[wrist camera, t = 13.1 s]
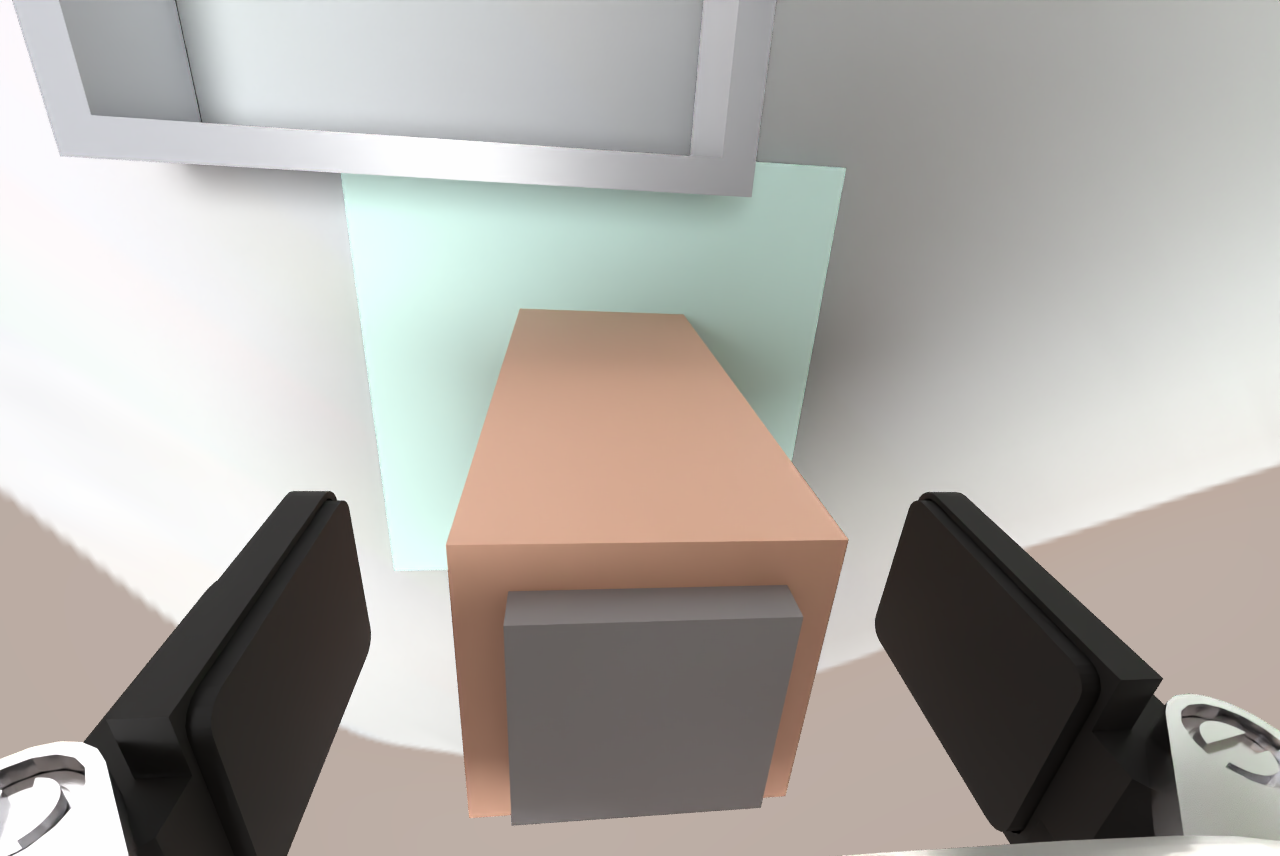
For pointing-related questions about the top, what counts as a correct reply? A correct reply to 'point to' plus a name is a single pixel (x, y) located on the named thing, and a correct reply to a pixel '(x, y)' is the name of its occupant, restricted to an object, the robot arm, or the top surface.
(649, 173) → the case
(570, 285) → the mat
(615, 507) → the block
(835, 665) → the top surface
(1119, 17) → the top surface
